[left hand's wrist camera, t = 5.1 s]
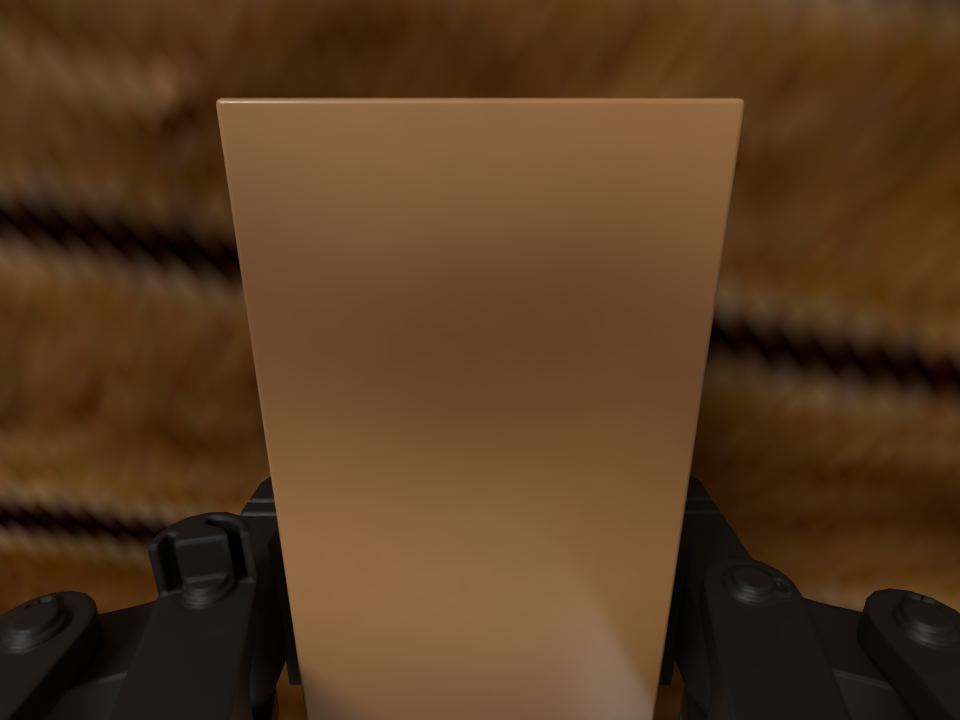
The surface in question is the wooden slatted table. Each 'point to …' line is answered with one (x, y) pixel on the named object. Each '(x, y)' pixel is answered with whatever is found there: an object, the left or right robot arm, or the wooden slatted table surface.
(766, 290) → the wooden slatted table surface
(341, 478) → the beam
